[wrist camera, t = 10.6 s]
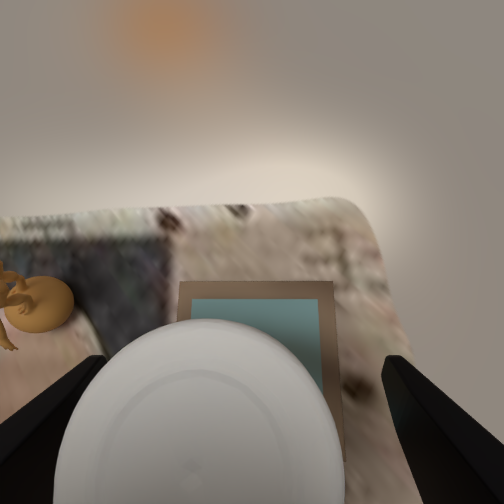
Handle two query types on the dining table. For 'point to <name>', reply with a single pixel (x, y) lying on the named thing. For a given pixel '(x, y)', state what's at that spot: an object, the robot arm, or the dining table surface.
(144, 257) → the dining table surface
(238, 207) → the dining table surface
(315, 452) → the sprinkles bottle
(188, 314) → the tower base
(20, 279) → the figurine
